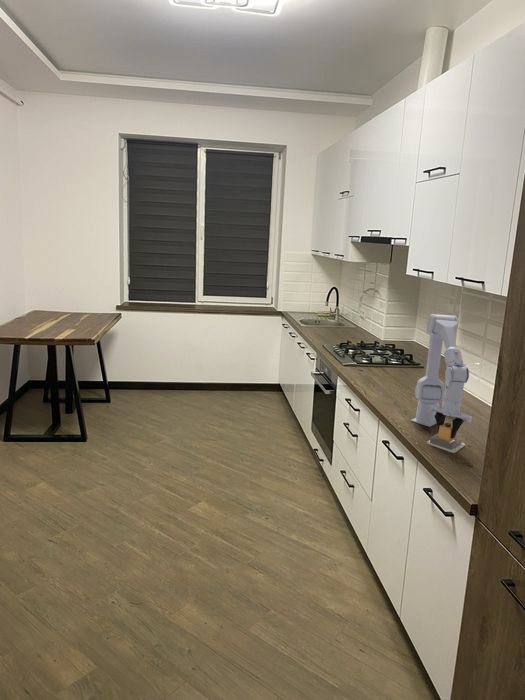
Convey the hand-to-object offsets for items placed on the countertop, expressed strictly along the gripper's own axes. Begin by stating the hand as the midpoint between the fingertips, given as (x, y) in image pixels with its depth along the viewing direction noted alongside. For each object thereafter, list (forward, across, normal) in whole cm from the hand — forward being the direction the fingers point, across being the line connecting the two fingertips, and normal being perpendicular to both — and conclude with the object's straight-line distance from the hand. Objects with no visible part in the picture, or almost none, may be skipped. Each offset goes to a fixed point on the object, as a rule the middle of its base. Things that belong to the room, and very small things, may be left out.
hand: (446, 435), depth 182 cm
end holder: (+4, 0, +1) cm, 4 cm away
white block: (+4, -14, +37) cm, 40 cm away
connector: (+2, 0, +1) cm, 2 cm away
